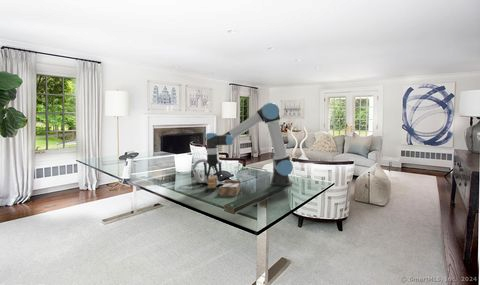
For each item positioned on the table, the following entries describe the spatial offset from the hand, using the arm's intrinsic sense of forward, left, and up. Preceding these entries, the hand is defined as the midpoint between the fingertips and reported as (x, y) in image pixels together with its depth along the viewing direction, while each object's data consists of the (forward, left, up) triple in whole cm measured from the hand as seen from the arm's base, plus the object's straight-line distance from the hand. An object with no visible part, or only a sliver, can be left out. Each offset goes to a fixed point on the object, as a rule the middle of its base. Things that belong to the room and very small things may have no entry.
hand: (213, 184), depth 197 cm
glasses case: (0, 0, -1) cm, 1 cm away
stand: (-13, +4, -4) cm, 15 cm away
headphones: (+13, -18, -4) cm, 22 cm away
